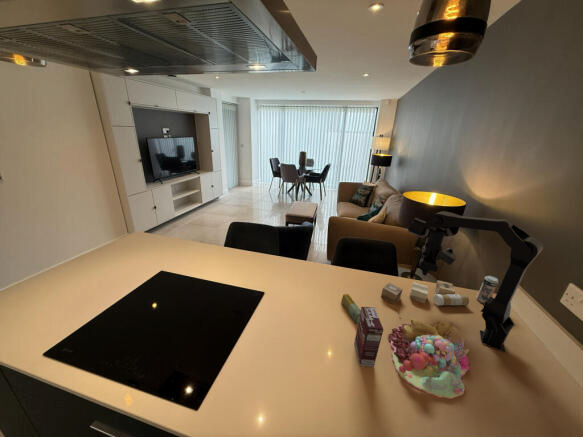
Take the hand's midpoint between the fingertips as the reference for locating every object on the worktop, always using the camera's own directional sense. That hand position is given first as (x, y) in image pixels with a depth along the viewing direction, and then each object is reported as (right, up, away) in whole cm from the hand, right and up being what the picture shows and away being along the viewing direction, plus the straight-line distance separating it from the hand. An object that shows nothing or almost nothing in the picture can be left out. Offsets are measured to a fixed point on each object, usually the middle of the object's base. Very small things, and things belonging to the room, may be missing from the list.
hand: (424, 274), depth 99 cm
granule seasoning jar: (+18, -11, +1) cm, 22 cm away
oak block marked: (+13, -11, +7) cm, 18 cm away
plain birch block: (-1, -11, +4) cm, 12 cm away
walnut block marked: (-13, -11, +3) cm, 18 cm away
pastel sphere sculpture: (-13, -22, -24) cm, 35 cm away
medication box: (-33, -14, -6) cm, 37 cm away
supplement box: (-34, -21, -24) cm, 46 cm away
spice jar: (+28, -13, +4) cm, 32 cm away
